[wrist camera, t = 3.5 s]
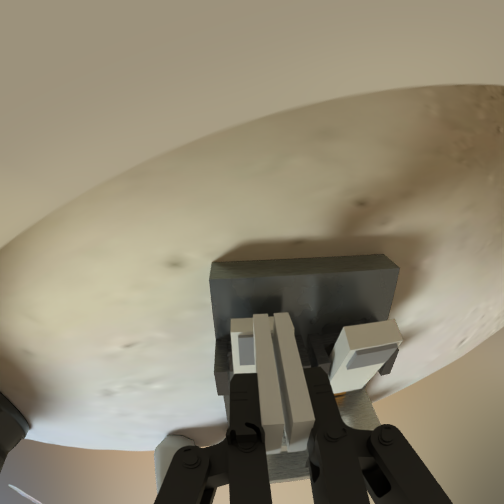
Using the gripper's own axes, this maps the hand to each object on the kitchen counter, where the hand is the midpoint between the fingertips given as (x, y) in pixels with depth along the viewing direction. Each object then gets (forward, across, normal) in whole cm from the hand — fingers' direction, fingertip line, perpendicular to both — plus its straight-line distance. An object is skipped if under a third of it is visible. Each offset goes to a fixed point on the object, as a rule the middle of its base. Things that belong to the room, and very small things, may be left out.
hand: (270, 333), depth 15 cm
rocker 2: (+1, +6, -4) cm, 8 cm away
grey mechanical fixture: (+6, +3, -10) cm, 12 cm away
